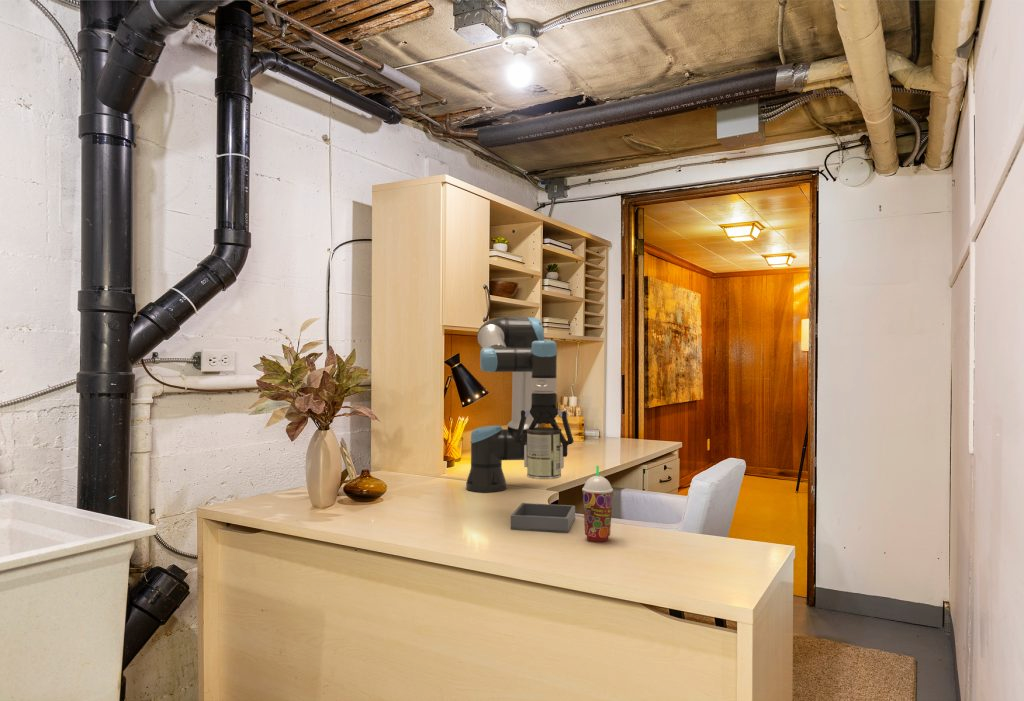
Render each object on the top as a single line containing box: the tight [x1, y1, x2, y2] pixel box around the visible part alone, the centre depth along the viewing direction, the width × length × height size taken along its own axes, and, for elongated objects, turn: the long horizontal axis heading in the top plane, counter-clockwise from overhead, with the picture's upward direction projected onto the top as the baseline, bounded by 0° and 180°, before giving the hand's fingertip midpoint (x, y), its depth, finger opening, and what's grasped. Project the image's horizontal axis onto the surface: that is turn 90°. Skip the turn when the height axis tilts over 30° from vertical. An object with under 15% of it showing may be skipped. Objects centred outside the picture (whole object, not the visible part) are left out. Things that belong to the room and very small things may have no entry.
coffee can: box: [526, 426, 562, 480], centre depth 195 cm, size 10×10×14 cm
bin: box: [510, 502, 576, 534], centre depth 195 cm, size 17×17×4 cm
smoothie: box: [581, 465, 614, 543], centre depth 179 cm, size 8×8×20 cm
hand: (544, 467), depth 195 cm, fingers closed on coffee can, 10 cm apart
